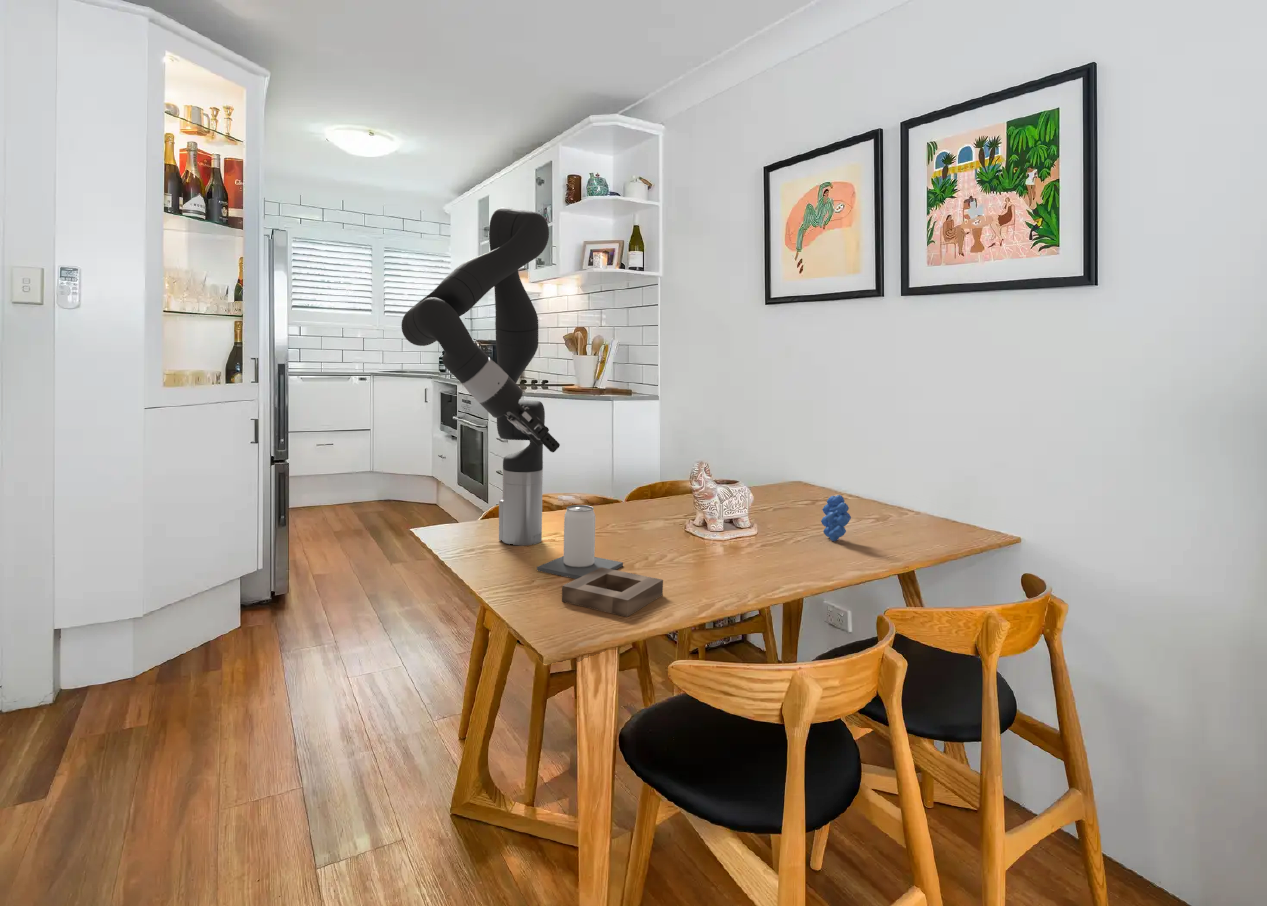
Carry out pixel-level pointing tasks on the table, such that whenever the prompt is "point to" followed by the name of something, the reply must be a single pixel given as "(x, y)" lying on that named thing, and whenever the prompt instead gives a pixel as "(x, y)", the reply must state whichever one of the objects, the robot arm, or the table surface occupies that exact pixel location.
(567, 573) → the mat
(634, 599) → the collar
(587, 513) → the can
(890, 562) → the table surface
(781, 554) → the table surface
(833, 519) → the grapes
